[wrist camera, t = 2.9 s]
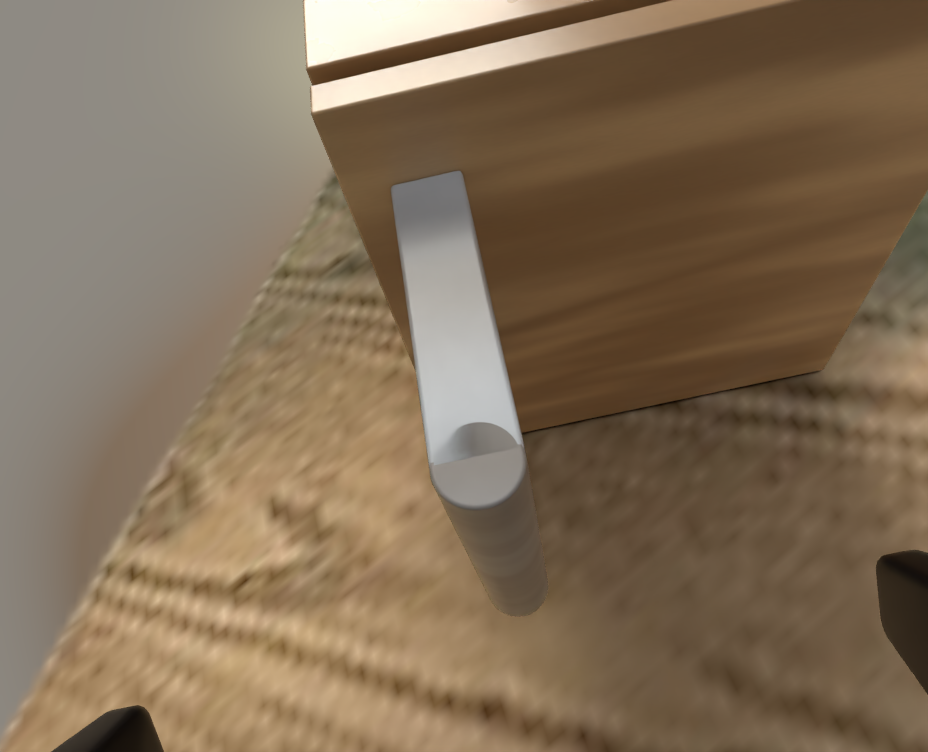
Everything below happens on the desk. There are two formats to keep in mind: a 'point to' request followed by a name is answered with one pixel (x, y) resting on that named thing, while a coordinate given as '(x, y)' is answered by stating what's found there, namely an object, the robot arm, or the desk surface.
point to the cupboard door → (624, 221)
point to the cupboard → (428, 28)
